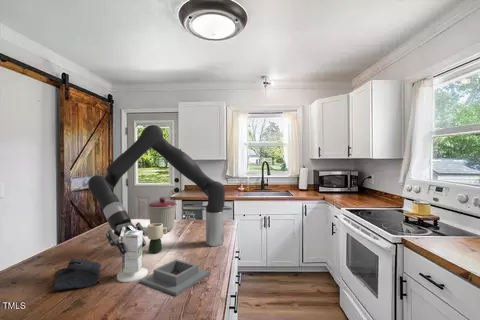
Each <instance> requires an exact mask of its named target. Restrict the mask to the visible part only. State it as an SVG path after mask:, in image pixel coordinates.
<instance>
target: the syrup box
mask: <svg viewBox="0 0 480 320" xmlns="http://www.w3.org/2000/svg"><path fill="white" fill-rule="evenodd" d="M143 238H144V236H143V231H139V230H132V231H128V232H126V233H125V234H124V235H123V239H122V243H123V244H124V245H125V247H126V249H127V252H126V253H125V254H122V253H121V255H122V256H121V257H122V259H121V261H122V266H121V272H122V273H135V272H138V271H139V269H140V268H143V247H142V241H143Z"/></svg>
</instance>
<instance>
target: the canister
mask: <svg viewBox="0 0 480 320" xmlns="http://www.w3.org/2000/svg"><path fill="white" fill-rule="evenodd" d="M177 205H178V203H176V202H175V201H172V200H166V198H165V197H164V196H163V197H160V198H159V201H158V200H157V201H152V202H150V203H149V204H147V206H146V207H147V208H148V215H149V216H148V217H149V218H148V219H149V224H153V223H161V224H163V228H165V227H166V228H167V233H169V232H171V231H172V230H173V229H174V227H175V219H176V210H177ZM163 232H165V229H164V230H163Z"/></svg>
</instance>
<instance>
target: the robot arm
mask: <svg viewBox="0 0 480 320" xmlns="http://www.w3.org/2000/svg"><path fill="white" fill-rule="evenodd" d="M150 149H152V150H154V151H155V152H156V153H158V154H159V155H160V156H161V157H162V158H164V160H165V161H166V162H167V163H169V164H170V165H171V166H172V167H173V168H174V169H175V170H176V171H178V172H179V173H180V174H181V175H182V176H184V177H186V179H188V180H189V181H191V182H192V183H194V184H195V185H196V186H197V187H198V188H199V189H200V190H201V191H202V192H203V193H204V194H205V196H207V205H206V206H205V245H207V246H209V247H218V246H222V245H223V244H224V242H225V225H224V208H225V197H226V196H225V194H226V193H225V192H226V190H225V186H224V184H223V182H222V183H221V182H220V181H215V180H214V179H212V178H211V177H210V176H208V175H207V174H206V173H205V172H203V170H202V169H201V167H200V166H199V164H197V162H196V161H195V160H194V159H192V157H190V156H189V155H188V154H187V153H185V152H184V151H183V150H181V149H179V148H177V147H176V146H174V145H172V144H171V143H170V142H169V141H167V140H166V138H164V132H163V130H162V128H161V127H160V126H158V125H155V124H151V125H147V126H146V127H144V129H143V130H142V131H141V133H140V136H139V137H138V138H137V140H135V141H134V142H133V144H131V146H129V147H128V148H127V149H126V150H124V152H123V153H121V154H119V156H117V157H116V158H115V159H114V161H113V162H112V163H110V164H109V165H108V166H107V168H106V172H107V174H106V176H105V177H104V176H102V175H101V174H100V175H99V174H96V175H93V176H91V177H90V178H89V180H88V182H87V187H88V190H89V191H90V193H91V194H92V195H93V197H94V198H95V199H96V200H97V202H98V203H99V206H100V208H101V210H102V211H103V214H104V217H105V218H106V221H107V223H108V225H109V226H110V229H108V230H107V231H106V233H105V236H106V238H107V240H108V243H109V245H110V247H114V246H116V247H117V248H118V250H119V252H120V254H121V255H122V254H125V253H126V252H127V249H126V247H125V245H124V244H123V235H124V234H125V233H126V232H128V231H132V230H139V231H143V241H142V248H145V246H146V244H147V242H146V239H145V236H144V235H145V234H147V233H146V232H147V231H146V232H145V229H144V227H143V226H142V224H141V223H140V222H136V223H134V224H133V223H132V220H131V218H130V216H129V214H128V212H127V210H126V209H125V207H124V205H123V204H122V203H121V201H120V200H119V198H118V196H117V195H116V194H115V192H113V190H114V189H115V188H116V186H117V185H118V183H119V181H120V179H121V178H122V177H123V176H124V175H125V174H126V173H127V172H128V171H129V170H130V169H131V168H132V167H133V165H134V164H135V163H137V162H138V160H139V159H140V158H141V157H142V156H143V155H145V153H146V152H148V151H149V150H150ZM115 236H117V237H115Z"/></svg>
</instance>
